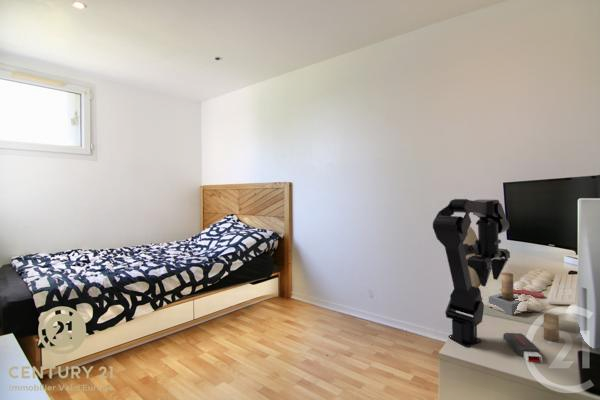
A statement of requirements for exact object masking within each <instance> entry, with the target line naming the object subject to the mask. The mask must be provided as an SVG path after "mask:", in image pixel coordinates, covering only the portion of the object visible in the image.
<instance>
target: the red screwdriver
mask: <svg viewBox="0 0 600 400" xmlns="http://www.w3.org/2000/svg"><path fill="white" fill-rule="evenodd" d="M499 290H501V291H502V288H499ZM514 294H518V295H517V296H520V295H521V294H525V295H531V296H533V297H535V298H534V299H538V300H539V299H540V300H541V299H544V298H545V295H544V294H543V293H542V292H537V291H532V290H526V289H522V290H515V289H514V288H513V295H514Z"/></svg>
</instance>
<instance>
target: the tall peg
mask: <svg viewBox="0 0 600 400" xmlns="http://www.w3.org/2000/svg"><path fill="white" fill-rule="evenodd" d="M500 276H501V289H502V290H501V293H502V299H503V300H506V301H509V302H511V301H514V296H515V295H514V294H513V289H514V273H511V272H501V274H500Z"/></svg>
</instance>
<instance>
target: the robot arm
mask: <svg viewBox="0 0 600 400" xmlns="http://www.w3.org/2000/svg"><path fill="white" fill-rule="evenodd" d="M455 213H461V214H462V213H464V216H456V215H454V214H455ZM471 213H472V215H474V216H475V217H478V218H479V219H478V220H477V221H476V222H475V224H476V225H477V237H478V238H477V239H476V240H475V241H474V243H471V244H468V243H464V242H465V240H466V238H467V236H468V231H469V228H470V226H471V224H472V219H471V217H470V214H471ZM509 228H510V223H509V221H508V219H507V216H506V213H505V211H504V207H503V204H502V203H501V202H500V200H499V199H475V200H470V199H467V198H454V199H450V201H449V203H448V205H446V206H445V207H443V208H441V209H440V210H439V211H438V212H437V214H436V216H435V217H434V220H433V222H432V229H433V231H434V235H435V237H436V239H437V240H438V241H439V243H440V244H441V245H442V246H443V247H444V249H445V253H446V258H447V263H448V267H449V272H450V276H451V281H452V285H453V290H452V292H451V294H450V295H449V302H448V305H447V307H446V310H445V312H444V313H445V317H446V318H447V319H451V325H452V326H451V328H452V329H451V330H452V331H451V333H452V334H449V335H448V336H447V337H448V338H449V337H450V336H451V337H450V338H451V340H452V341H454V342H456V343H458V344H460V345H461V344H462V345H461V346H463V345H464V346H463V347H465V346H467V347H470V346H473V345H476V344H479V343H481V342H482V340H481V339H480V338H478V329H477V328H478V325H480V324H481V323H482V322H483V318H484V317H483V316H484V310H485V309H484V308H485V307H484V302H483V297H482V292H481V289H480V287H476V286H473V285H472V280H471V275H470V270H469V268H471V269H472V270H473V271H475V273H476V275H477V277H478V278H477V279H478V280H479V283H480V286H481V287H486V286H487V283H488V280H489V277H490V275H491V274H492V278H493V280H498V279H499V277H500V276H501V273H503V272H502V271H503V270H504V268H505V266H506V264H507V263H508V261H509V259H510V258H511V252H510V251H509V250H508V248H499V245H500V244H501V243H502V240H501V239H499V234H502V233H505V232H507V231H508V230H509ZM473 254H474V255H473ZM468 255H469V257H468V258H467V256H468ZM470 255H471V256H470ZM450 338H449V339H450Z"/></svg>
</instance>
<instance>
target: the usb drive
mask: <svg viewBox="0 0 600 400" xmlns="http://www.w3.org/2000/svg"><path fill="white" fill-rule="evenodd" d="M502 336H503V340H504V341H505V342H506V343H507V345H508V346H509V347H510V348H511V349H512V350H513V351H514V352H515V354H516V355H518V356H520V357H521V358H523V359H525V361H526V362H528V361H529V362H530V363H531V362H533V363H535V362H537V363H543V357H542V355H541V354H540V349H539V348H538V347H537V346H536V345H535V344H534V343H533V342H532V341H531V340H530V339H528V337H527V336H526V335H525V334H523V333H520V332H519V333H517V332H505V333H503V335H502Z"/></svg>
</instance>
